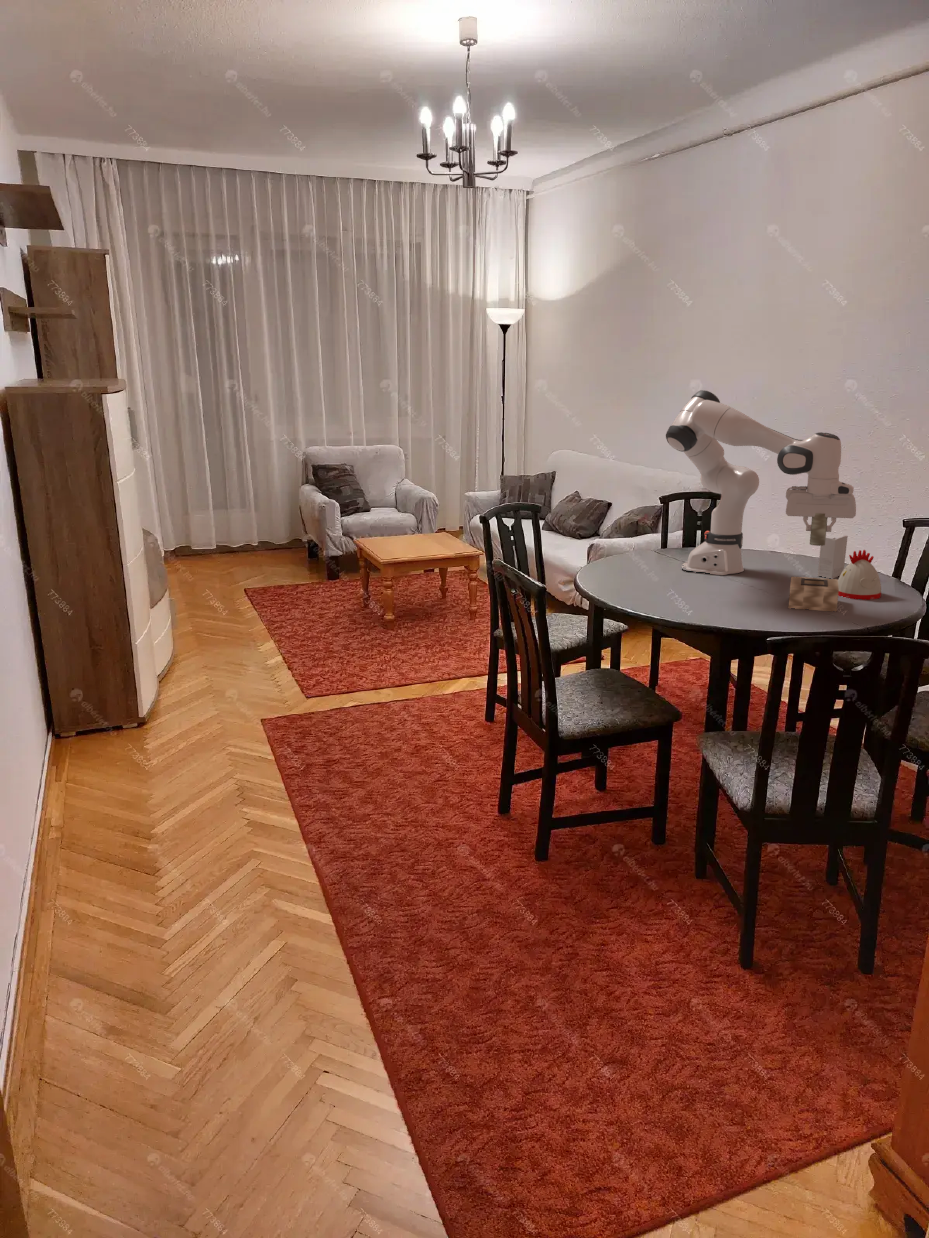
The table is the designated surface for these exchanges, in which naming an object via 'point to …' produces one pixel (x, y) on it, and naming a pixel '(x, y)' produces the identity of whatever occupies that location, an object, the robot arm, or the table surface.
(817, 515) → the peg
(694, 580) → the table surface
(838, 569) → the skincare box
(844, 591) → the kitchen timer
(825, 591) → the birch holder
